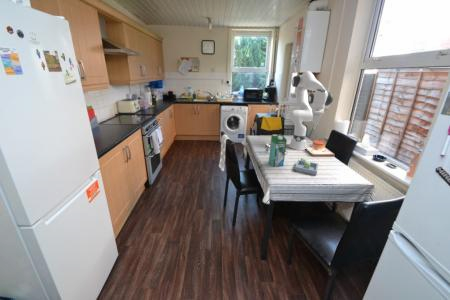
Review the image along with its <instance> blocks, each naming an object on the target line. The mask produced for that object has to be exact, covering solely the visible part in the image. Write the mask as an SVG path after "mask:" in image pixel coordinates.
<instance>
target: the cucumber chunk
mask: <svg viewBox="0 0 450 300" xmlns="http://www.w3.org/2000/svg"><path fill="white" fill-rule="evenodd" d="M310 162H311V161H307V162H305V163H304V168H306V169H309V168H310Z"/></svg>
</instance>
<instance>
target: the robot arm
mask: <svg viewBox="0 0 450 300" xmlns="http://www.w3.org/2000/svg"><path fill="white" fill-rule="evenodd" d="M291 85H292V87H293V88H296V90H295V105H296V107H297V108H300V109H294V110H291V111H290V112H289V116H288V117H289V119H290V121H292V122H293V125H294V132H293V134H292V135H293V136H292V138H291V140H290V143H289V144H288V147H289V148H291V149H293V150H297V151H303V150H304V151H306V150H305V149H306V148H305V147H306V146H307V140H306V137H307V135H306V134H307V129H308V128H307V127H306V125H305V124H303V122H312V125H313V127H312V130H316V128H317V125H318V124H319V121H320V118H321V116H322V115H323V114H324V113H325V107H328V106H330V105H331V104H332V103H333V101H334V95H332V93H331V92H329V90H328V89H327V88H326V86H325V85H324V84H323V83H322V82H320V81H319V80H318V79H317V78H316V76H315V75H314V73H312V71H311V70H305V71H304V72H302V74H301V75H294V76H293V77H292V79H291ZM308 90H309V91H313V92H311V93H310V94H309V93H308ZM308 94H309V95H308ZM310 105H312V107H311V106H310Z"/></svg>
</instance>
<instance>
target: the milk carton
mask: <svg viewBox="0 0 450 300" xmlns="http://www.w3.org/2000/svg"><path fill="white" fill-rule="evenodd" d="M270 137H271V139H270V147H269V155H268V164H269V165H270V166H272V167H275V168H276V167H284V162H285V157H286V149H287V142H288V140H287V139H286V137H284V135H283V134H282V133H280V134H275V133H274V134H271V136H270Z"/></svg>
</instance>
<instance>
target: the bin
mask: <svg viewBox="0 0 450 300" xmlns="http://www.w3.org/2000/svg"><path fill="white" fill-rule="evenodd" d="M305 162H308V161H307V160H306V161H302V160H301V159H298V160H297V161H296V164H295V166H294V172H297V173H298V172H299V173H303V174H308V175H312V176H317V173H318V168H319V163H317V162H311V161H309V162H310V168H309V169H306V168H304V163H305Z"/></svg>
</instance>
